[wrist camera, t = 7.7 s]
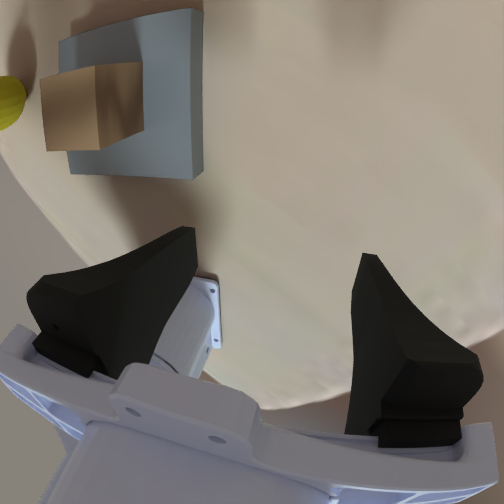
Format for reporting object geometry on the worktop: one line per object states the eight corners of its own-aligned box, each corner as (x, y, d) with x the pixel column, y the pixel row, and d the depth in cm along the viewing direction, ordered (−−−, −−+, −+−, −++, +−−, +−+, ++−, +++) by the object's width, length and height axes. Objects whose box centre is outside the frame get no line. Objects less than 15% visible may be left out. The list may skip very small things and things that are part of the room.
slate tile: (203, 170, 22) (192, 179, 21) (84, 166, 24) (70, 174, 23) (203, 12, 15) (191, 7, 14) (74, 40, 18) (58, 41, 16)
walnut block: (144, 130, 19) (99, 150, 15) (92, 131, 20) (46, 151, 16) (142, 61, 16) (94, 65, 12) (88, 70, 17) (39, 79, 13)
